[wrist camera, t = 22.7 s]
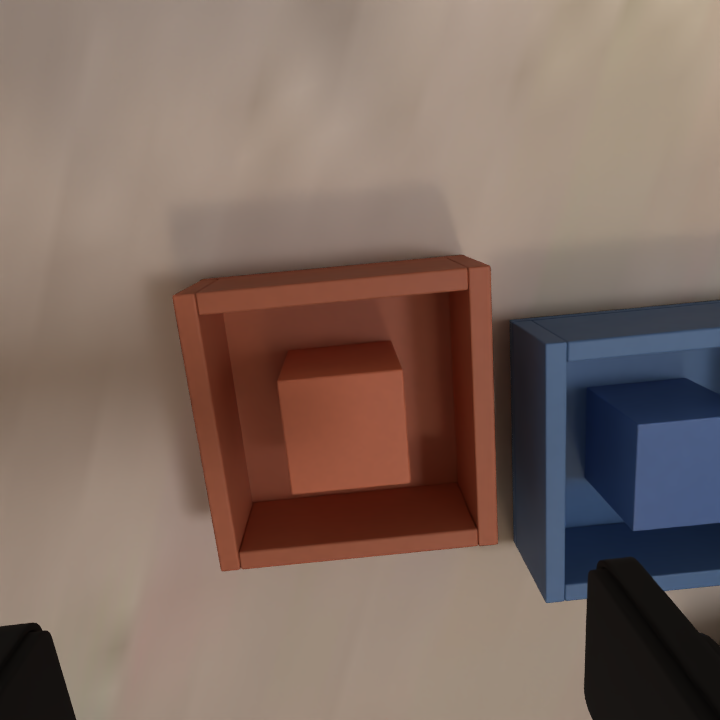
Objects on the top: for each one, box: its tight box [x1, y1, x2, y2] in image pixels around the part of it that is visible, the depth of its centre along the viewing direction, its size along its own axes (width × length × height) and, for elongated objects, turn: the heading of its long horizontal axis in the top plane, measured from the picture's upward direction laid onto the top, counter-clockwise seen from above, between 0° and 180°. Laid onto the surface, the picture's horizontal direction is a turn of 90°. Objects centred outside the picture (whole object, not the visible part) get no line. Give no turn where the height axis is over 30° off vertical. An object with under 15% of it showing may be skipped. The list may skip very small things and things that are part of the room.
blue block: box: [585, 378, 720, 531], centre depth 24 cm, size 4×4×4 cm
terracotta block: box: [277, 341, 411, 495], centre depth 23 cm, size 4×4×4 cm
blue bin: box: [510, 300, 720, 603], centre depth 24 cm, size 11×11×4 cm
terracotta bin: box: [172, 255, 498, 571], centre depth 23 cm, size 11×11×4 cm
